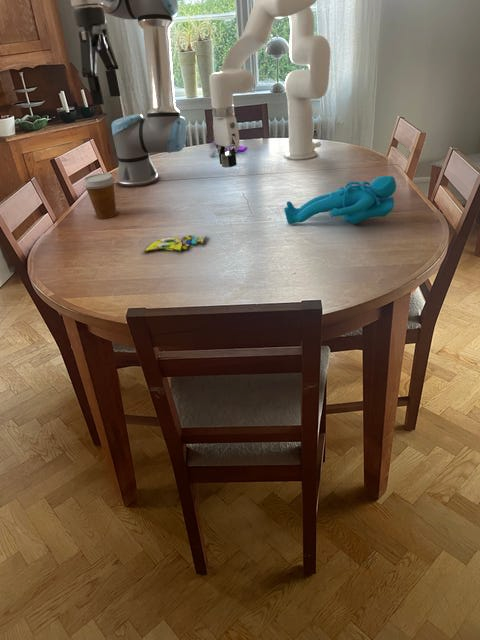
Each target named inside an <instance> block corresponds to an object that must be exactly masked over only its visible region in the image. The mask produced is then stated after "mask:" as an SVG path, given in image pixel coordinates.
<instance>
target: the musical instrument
mask: <svg viewBox="0 0 480 640" xmlns="http://www.w3.org/2000/svg"><path fill="white" fill-rule="evenodd" d="M211 143H212V145H214V146H216V145H215V143H214V141H212V142H211ZM231 146H232V144H231ZM239 146H240V148H239V149H238V150H237V153H244V152H246V151H247V150H248V146H244V145H241V144H239ZM222 147H223V146H222ZM230 149H231V150H232V149H233V148H230ZM226 151H228V149H227V147H226ZM216 152H218V149H217V148H216V150H214V151H213V152H212V153H211V156H210V157H219V154H218V155H214V154H215V153H216Z"/></svg>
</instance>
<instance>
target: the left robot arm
mask: <svg viewBox="0 0 480 640" xmlns="http://www.w3.org/2000/svg"><path fill="white" fill-rule="evenodd" d="M70 2H71V3H70V5H71V7H73V8H74V10H73V11H72V12H73V16H74V22H75V25H76V27H77V28H83V30H81V31H80V30H79V31H78V38H79V46H80V64H81V65H80V66H81V74H82V77H83V78H86V79H87V83H88V87H89V92H90V96H91V100H92V105H93V106H100V105H105V101H104V96H103V92H102V87H101V83H100V82H101V81H100V77H99V76H98V75H97V72H98V71H97V69H98V55H99V58H100V59H101V61H102V63H103V65H104V67H105V77H106V81H107V87H108V91H109V95H110V98H111V97H112V98H113V97H120V96H121V89H120V85H119V81H118V75H117V70H119V64H118V62H117V59H116V55H115V53H114V50H113V47H112V43H111V41H110V39H109V35H108V30H107V28H102V26H105V25H106V24H107V17H106V14H107V15H110V16H113V17H114V18H119V19H123V20H128V21H129V20H130V21H131V20H137V24H138V26H139V27H140V28H141V29H142V31H143V42H144V51H145V53H144V54H145V62H146V63H145V64H146V72H147V73H146V74H147V82H148V83H147V84H148V93H149V94H148V95H149V103H150V108H149V109H148V110H147V112H146V116H147V118H144V116H143V114H142V113H136V114H131V115H126V116H123V117H121V118H118V119H117V118H116V119H115V120H113V121H112V122H111V132H112V134H111V135H112V138H113V142H114V146H115V151H116V156H117V160H118V167H117V168H118V170H117V183H118V186H120V187H123V188H124V187H125V188H136V187H137V188H138V187H145V186H147V185H148V186H149V185H151V184H154V183H156V182H157V181H158V180H159V176H158V172H157V169H156V167H155V166H154V163H153V161H152V159H151V156H150V154H159V153H160V154H163V153H165V154H166V153H168V154H171V153H178V152H181V151H182V150H183V149H184V147H185V145H186V143H187V136H188V127H187V121H186V119H185V117H183V116H181V111H180V110H179V109H178V108H177V107H176V103H175V102H176V100H175V88H174V86H175V85H174V75H173V62H172V51H171V49H172V48H171V38H170V28H171V27H172V26H173V24H174V17H176V16H177V15H178V13H179V11H178V10H179V3H178V0H70Z"/></svg>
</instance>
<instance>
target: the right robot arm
mask: <svg viewBox="0 0 480 640" xmlns="http://www.w3.org/2000/svg"><path fill="white" fill-rule="evenodd" d="M316 2H317V0H254V3H253V6H252V9H251V11H250V13H249V16H248V19H247V22H246V24H245V27H244V30H243V32H242V34H241V35H240V36H239V38H238V39H237V40H236V41H235V43H234V44H233V45H232V46H231V47H230V49H229V50H228V51H227V54H226V55H225V57H224V59H223V62H222V65H221V68H220V71H219V72H213V73H211V74H210V75H209V76H208V77H209V78H208V82H209V93H210V101H211V111H212V129H213V130H212V131H213V142H214V143H215V145H214V146H215V147H216V150H217V149H218V150H217V153H218V157H219V165H222V161H221V153H223V152H228V153H229V156H228V164H229V167H228V168H233V167H235V166H237V164H238V163H237V153H238V152H237V150H238V149H239V148H240V146H241V144H240V143H241V141H240V140H241V139H240V134H239V126H238V121H237V117H236V116H235V107H234V105H235V104H234V95H235V94H239V95H240V94H241V95H242V94H248V93H249V92H251V91H252V90H253V88H254V86H255V85H256V84H255V83H256V79H255V75H254V74H253V73H252V72H251V70H249V69H245V68H242V67H243V65H244V64H245V62H247V60H248V59H249V58H250V57H252V55H254V54H256V53H258V52H259V51H260V50H262V49H263V48H265V46H266V45H267V42H268V40H269V37H270V36H271V32H272V30H273V27H274V24H275V23H276V19H282V18H289V28H290V32H289V33H290V34H289V58H290V61H291V63H293V64H294V65H297V66H307V67H308V69H301V68H300V69H299V68H298V69H294V70H292V71H290V72H289V73H288V74H287V76H286V78H285V81H284V89H285V95H286V99H287V100H286V101H287V114H288V116H287V118H288V119H287V120H288V151H286V152H285V155H284V156H285V158H286V159H289V160H307V159H308V160H309V159H311V158H314V157H316V156H317V151H316V148H320V147H321V146H322V143H321V142H320V141H317V142H314V141H313V134H314V133H313V128H314V127H313V125H314V124H313V120H314V117H313V115H314V111H313V104H312V101H311V100H319V99H322V97H324V96H325V95H326V93H327V90H328V88H329V81H330V67H331V66H330V65H331V47H330V43H329V41H328V39H327V38H326V37H324V36H323V35H315V17H314V13H313V10H312V8H311V6H313V5H314V4H315V3H316ZM231 144H232V146H231ZM239 145H240V146H239ZM222 146H223V147H222ZM226 147H227V149H228V150H226ZM230 148H233V149H232V150H231V149H230ZM232 166H233V167H232Z"/></svg>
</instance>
